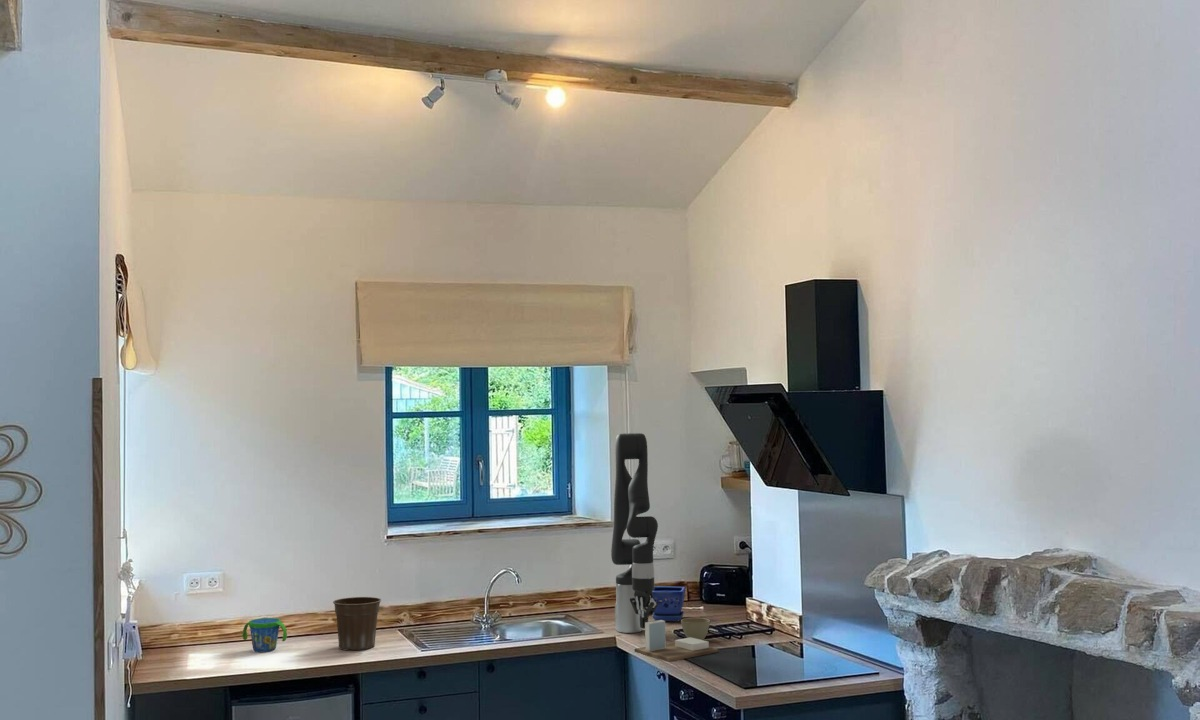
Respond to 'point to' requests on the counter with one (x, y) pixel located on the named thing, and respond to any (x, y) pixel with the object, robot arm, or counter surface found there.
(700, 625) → the flower pot
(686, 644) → the tile far
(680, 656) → the board
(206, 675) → the counter surface
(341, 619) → the plant pot
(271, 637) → the snack cup
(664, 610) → the flower pot
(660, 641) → the tile near
